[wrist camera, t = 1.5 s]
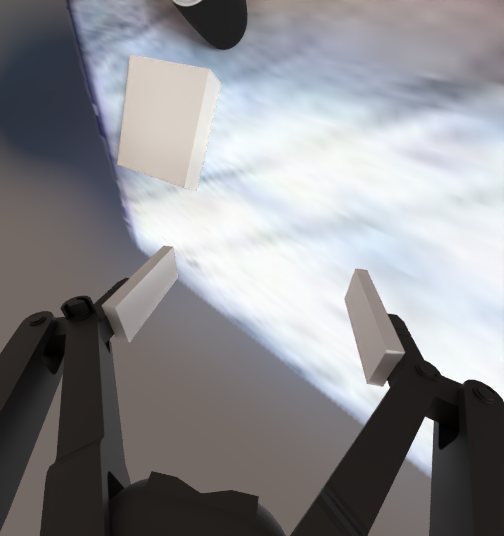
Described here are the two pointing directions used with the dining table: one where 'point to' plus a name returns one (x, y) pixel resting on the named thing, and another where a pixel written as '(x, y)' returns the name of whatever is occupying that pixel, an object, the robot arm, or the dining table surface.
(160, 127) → the flat plate
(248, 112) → the dining table surface
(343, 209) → the dining table surface
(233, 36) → the mug
